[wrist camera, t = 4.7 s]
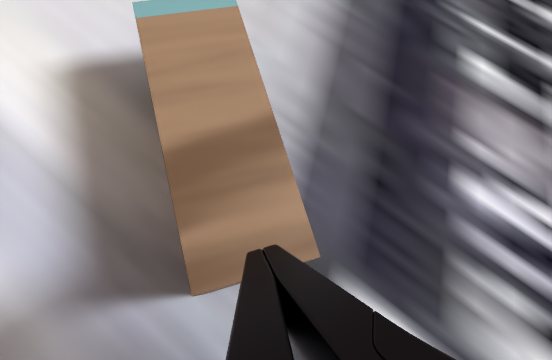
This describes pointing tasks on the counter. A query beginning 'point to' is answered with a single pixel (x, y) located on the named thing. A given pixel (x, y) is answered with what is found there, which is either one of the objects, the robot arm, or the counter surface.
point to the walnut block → (218, 141)
